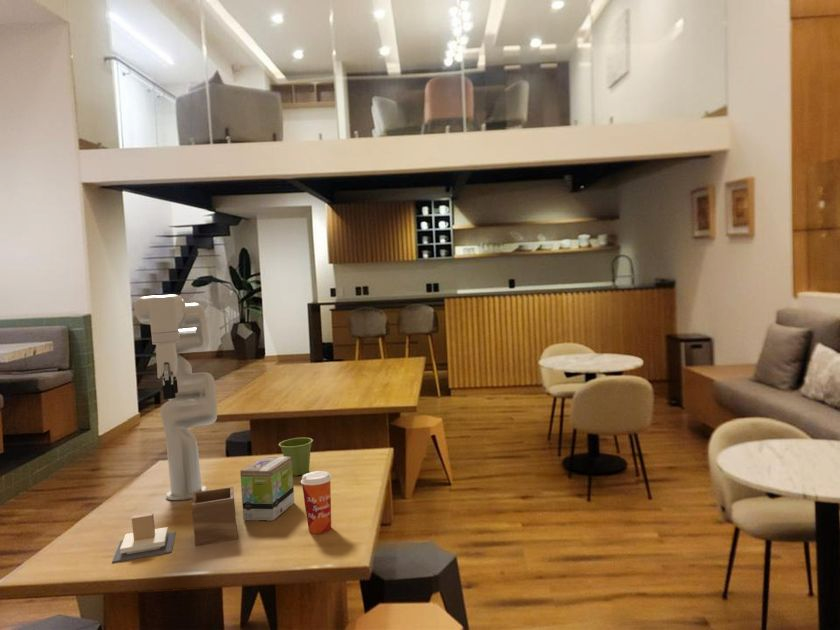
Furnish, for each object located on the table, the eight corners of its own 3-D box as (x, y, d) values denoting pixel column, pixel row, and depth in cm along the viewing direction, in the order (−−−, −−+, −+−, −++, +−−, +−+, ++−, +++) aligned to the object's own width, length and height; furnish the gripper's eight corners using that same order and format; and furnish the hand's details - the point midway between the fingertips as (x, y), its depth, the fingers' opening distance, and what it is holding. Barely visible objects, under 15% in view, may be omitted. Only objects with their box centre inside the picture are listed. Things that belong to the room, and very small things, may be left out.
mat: (120, 542, 177) (120, 540, 177) (175, 533, 181) (175, 531, 181) (112, 563, 163) (112, 561, 163) (171, 552, 167) (171, 551, 167)
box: (196, 531, 181) (193, 492, 180) (236, 524, 184) (233, 486, 183) (195, 546, 171) (191, 504, 170) (237, 538, 174) (233, 498, 173)
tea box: (275, 521, 185) (270, 470, 184) (242, 521, 187) (238, 470, 186) (295, 502, 199) (291, 455, 198) (265, 502, 201) (261, 455, 200)
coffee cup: (310, 538, 171) (305, 482, 170) (300, 528, 178) (296, 474, 177) (340, 530, 174) (335, 475, 174) (329, 521, 182) (325, 468, 181)
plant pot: (288, 468, 236) (285, 438, 236) (319, 467, 235) (317, 437, 234) (276, 479, 225) (273, 446, 224) (309, 478, 223) (306, 445, 222)
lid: (126, 541, 176) (123, 512, 175) (168, 534, 179) (165, 505, 178) (120, 557, 166) (117, 525, 165) (165, 549, 169) (162, 518, 168)
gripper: (155, 337, 198) (160, 393, 199) (148, 341, 181) (154, 402, 182) (181, 334, 200) (186, 390, 201) (177, 339, 183) (182, 399, 184)
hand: (171, 396), depth 191 cm, fingers open, 9 cm apart
